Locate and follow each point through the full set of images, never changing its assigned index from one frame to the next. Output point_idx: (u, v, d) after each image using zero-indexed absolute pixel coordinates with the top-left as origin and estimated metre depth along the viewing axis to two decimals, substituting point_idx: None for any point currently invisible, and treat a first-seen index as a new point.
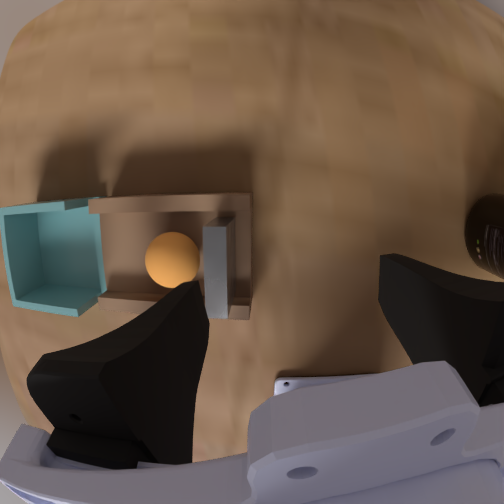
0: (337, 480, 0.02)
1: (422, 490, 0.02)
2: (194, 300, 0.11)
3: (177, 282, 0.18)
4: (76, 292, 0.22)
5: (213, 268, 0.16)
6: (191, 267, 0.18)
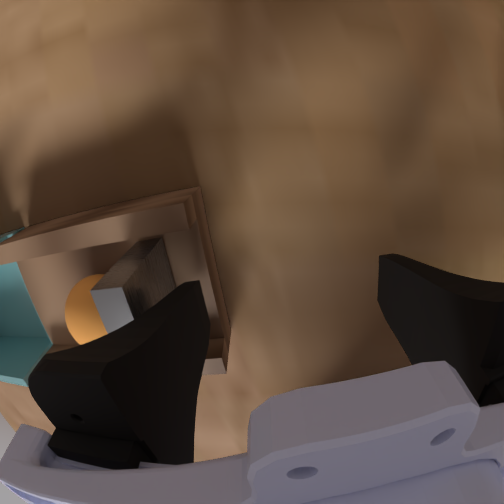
0: (337, 480, 0.02)
1: (422, 490, 0.02)
2: (195, 300, 0.11)
3: None
4: (26, 347, 0.16)
5: None
6: None
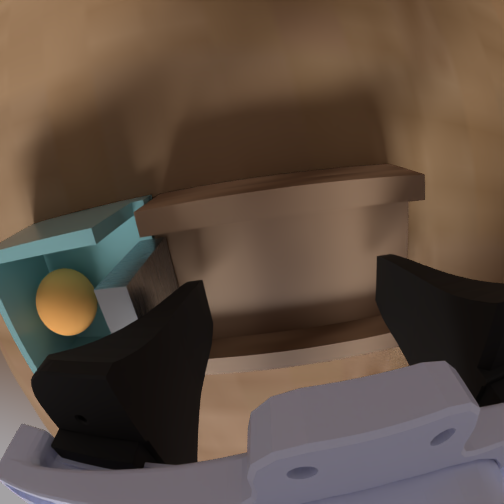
0: (337, 480, 0.02)
1: (422, 490, 0.02)
2: (198, 299, 0.11)
3: None
4: None
5: None
6: (53, 322, 0.12)
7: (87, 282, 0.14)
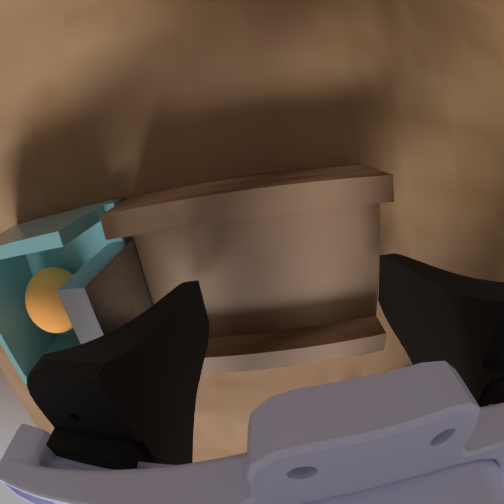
0: (337, 480, 0.02)
1: (422, 490, 0.02)
2: (194, 300, 0.11)
3: (49, 331, 0.13)
4: None
5: None
6: (53, 317, 0.12)
7: None
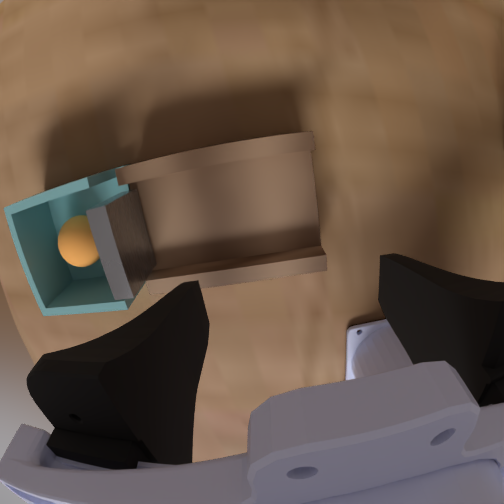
0: (337, 480, 0.02)
1: (422, 490, 0.02)
2: (194, 300, 0.11)
3: (82, 262, 0.18)
4: None
5: (105, 249, 0.14)
6: (90, 246, 0.17)
7: None
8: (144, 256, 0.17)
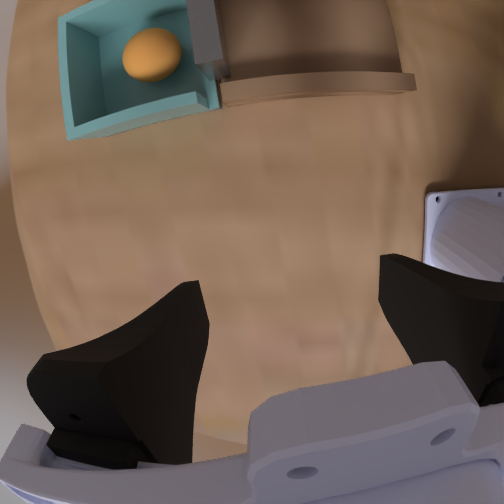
0: (337, 480, 0.02)
1: (422, 490, 0.02)
2: (194, 300, 0.11)
3: (165, 62, 0.14)
4: None
5: (198, 8, 0.10)
6: (178, 48, 0.14)
7: None
8: (225, 52, 0.13)
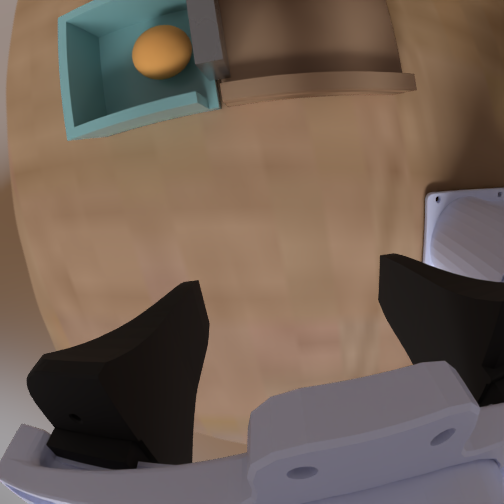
0: (337, 480, 0.02)
1: (422, 490, 0.02)
2: (194, 300, 0.11)
3: (183, 60, 0.14)
4: None
5: (198, 8, 0.10)
6: (191, 48, 0.14)
7: None
8: (225, 52, 0.13)
